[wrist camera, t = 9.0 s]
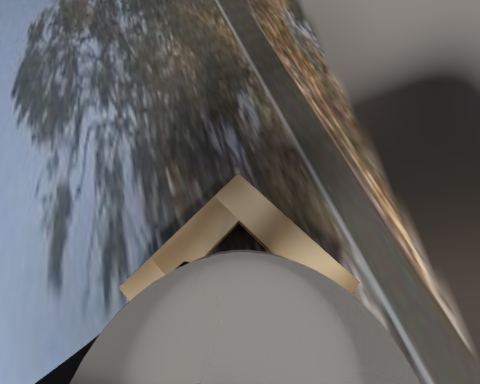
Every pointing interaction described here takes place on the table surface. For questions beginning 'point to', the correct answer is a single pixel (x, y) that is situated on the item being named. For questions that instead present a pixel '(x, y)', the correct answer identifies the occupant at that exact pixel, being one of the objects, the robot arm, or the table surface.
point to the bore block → (223, 223)
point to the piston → (244, 329)
